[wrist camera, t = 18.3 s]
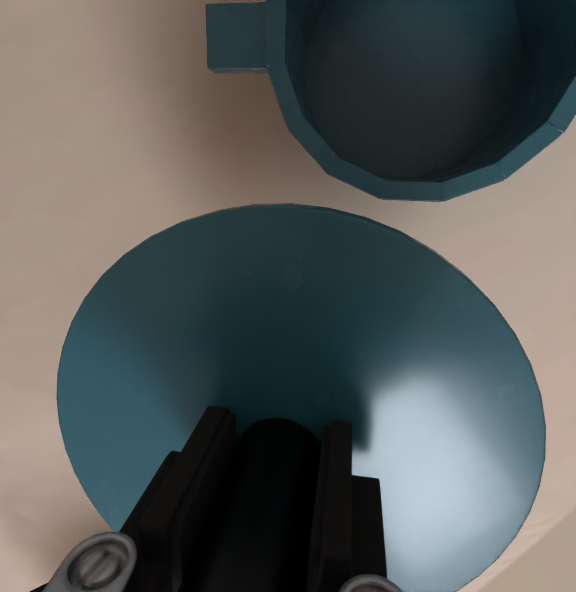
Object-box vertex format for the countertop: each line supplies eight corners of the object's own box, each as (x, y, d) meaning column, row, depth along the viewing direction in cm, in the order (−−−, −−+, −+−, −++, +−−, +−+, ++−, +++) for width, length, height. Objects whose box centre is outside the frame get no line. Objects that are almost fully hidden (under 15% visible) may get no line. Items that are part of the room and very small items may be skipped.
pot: (246, -63, 22) (193, -172, 15) (622, -81, 19) (777, -224, 12) (247, 184, 26) (205, 192, 19) (560, 196, 23) (649, 210, 16)
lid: (50, 189, 11) (-327, 228, 5) (585, 214, 10) (1033, 323, 3) (106, 555, 16) (-60, 819, 9) (480, 620, 14) (582, 1001, 8)
